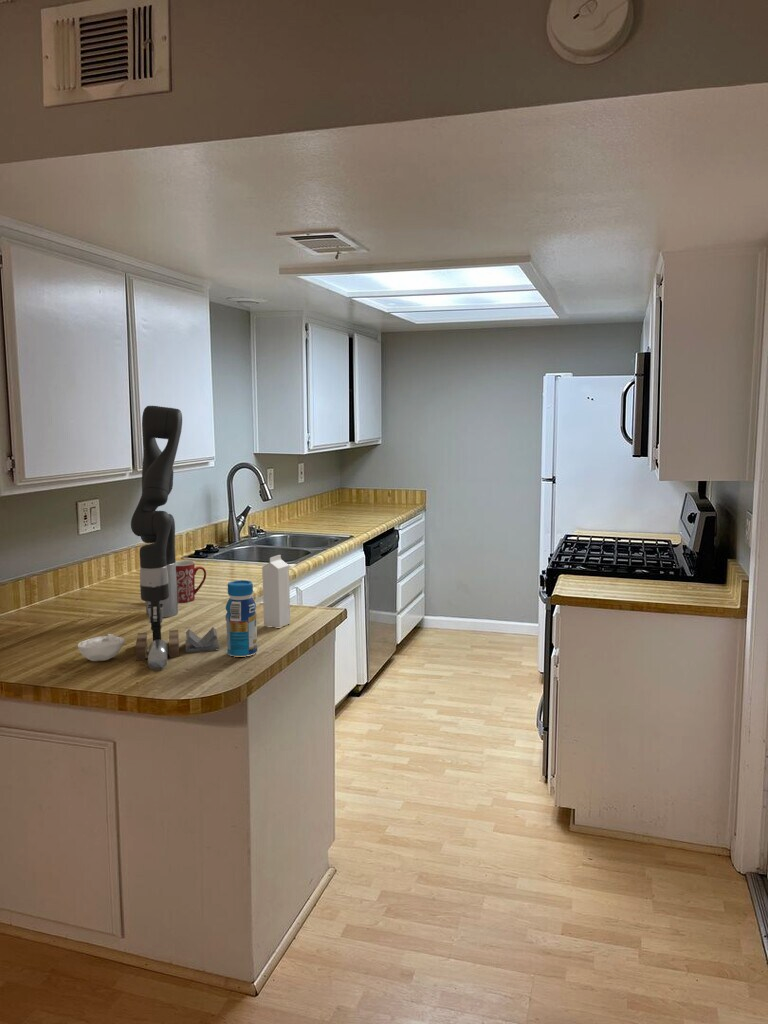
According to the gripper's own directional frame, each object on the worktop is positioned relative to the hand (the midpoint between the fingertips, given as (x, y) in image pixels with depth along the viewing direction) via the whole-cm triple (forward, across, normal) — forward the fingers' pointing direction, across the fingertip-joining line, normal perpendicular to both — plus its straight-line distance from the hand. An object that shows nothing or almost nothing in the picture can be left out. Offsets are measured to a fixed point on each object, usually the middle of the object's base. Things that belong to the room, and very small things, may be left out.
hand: (157, 642), depth 214 cm
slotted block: (+2, +1, 0) cm, 2 cm away
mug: (+3, -56, +9) cm, 57 cm away
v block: (+2, +1, +12) cm, 12 cm away
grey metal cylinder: (+2, +12, 0) cm, 12 cm away
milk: (+2, -15, +36) cm, 39 cm away
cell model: (+2, +4, -14) cm, 15 cm away
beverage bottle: (+2, +10, +23) cm, 25 cm away
